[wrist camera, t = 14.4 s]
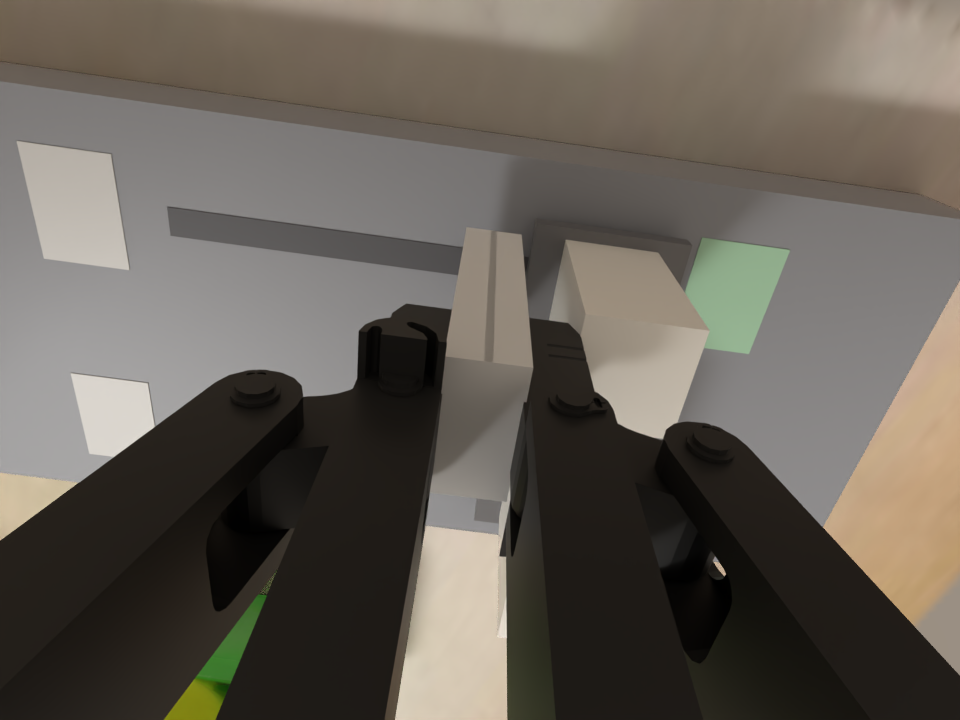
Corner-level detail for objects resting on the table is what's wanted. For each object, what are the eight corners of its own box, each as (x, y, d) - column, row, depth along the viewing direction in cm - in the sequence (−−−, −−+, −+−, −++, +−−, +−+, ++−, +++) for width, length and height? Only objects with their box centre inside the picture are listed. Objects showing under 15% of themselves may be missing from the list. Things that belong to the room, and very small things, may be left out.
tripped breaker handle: (515, 328, 17) (519, 431, 13) (535, 218, 16) (546, 293, 11) (654, 347, 17) (703, 455, 13) (687, 239, 16) (756, 322, 11)
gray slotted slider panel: (18, 418, 24) (-43, 468, 21) (-91, 48, 17) (-198, 53, 15) (766, 513, 25) (798, 572, 22) (921, 195, 18) (991, 224, 16)
